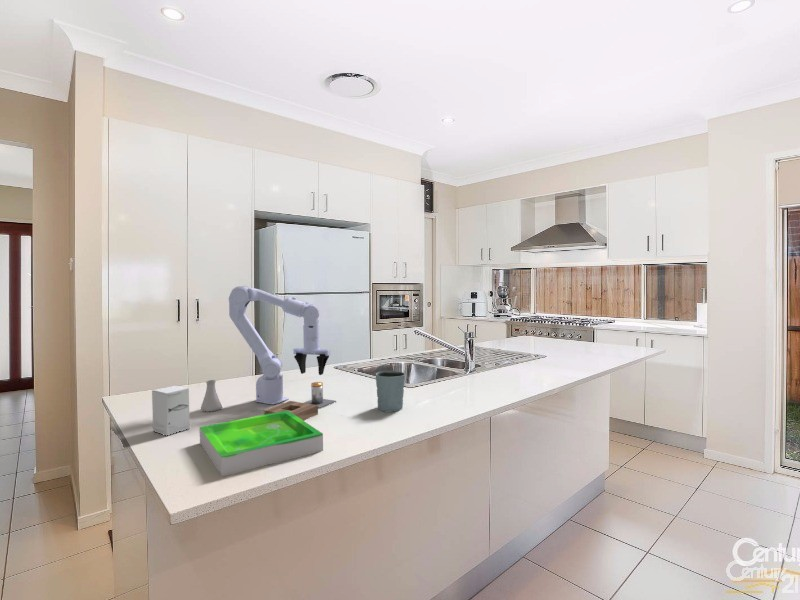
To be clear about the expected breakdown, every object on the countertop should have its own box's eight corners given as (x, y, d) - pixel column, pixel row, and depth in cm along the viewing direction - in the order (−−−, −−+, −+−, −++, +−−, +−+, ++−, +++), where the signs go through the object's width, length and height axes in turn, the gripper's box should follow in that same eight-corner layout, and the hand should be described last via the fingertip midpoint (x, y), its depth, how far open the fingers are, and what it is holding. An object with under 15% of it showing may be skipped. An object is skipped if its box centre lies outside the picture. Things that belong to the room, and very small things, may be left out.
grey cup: (370, 408, 149) (369, 373, 149) (390, 402, 156) (390, 369, 156) (391, 414, 142) (390, 378, 142) (411, 407, 150) (411, 373, 149)
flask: (226, 408, 150) (225, 380, 150) (205, 413, 145) (204, 384, 145) (217, 405, 155) (216, 377, 155) (196, 409, 150) (195, 381, 149)
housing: (264, 419, 138) (263, 410, 138) (290, 409, 149) (290, 400, 149) (292, 425, 132) (292, 415, 132) (317, 414, 143) (317, 405, 143)
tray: (200, 445, 119) (199, 427, 118) (288, 426, 133) (287, 410, 133) (222, 478, 98) (221, 456, 98) (323, 452, 113) (322, 433, 112)
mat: (300, 405, 154) (300, 404, 154) (316, 398, 162) (316, 397, 162) (320, 408, 150) (320, 407, 149) (336, 401, 157) (336, 400, 157)
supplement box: (166, 436, 124) (165, 393, 123) (152, 432, 128) (150, 389, 127) (190, 429, 130) (189, 387, 129) (176, 425, 134) (175, 384, 133)
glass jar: (309, 403, 154) (308, 384, 154) (316, 400, 158) (316, 381, 157) (318, 404, 152) (317, 385, 152) (325, 401, 156) (324, 382, 156)
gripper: (288, 338, 160) (289, 374, 160) (323, 339, 155) (324, 377, 155) (298, 335, 166) (299, 370, 167) (332, 337, 161) (333, 373, 162)
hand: (312, 373), depth 162 cm, fingers open, 7 cm apart
